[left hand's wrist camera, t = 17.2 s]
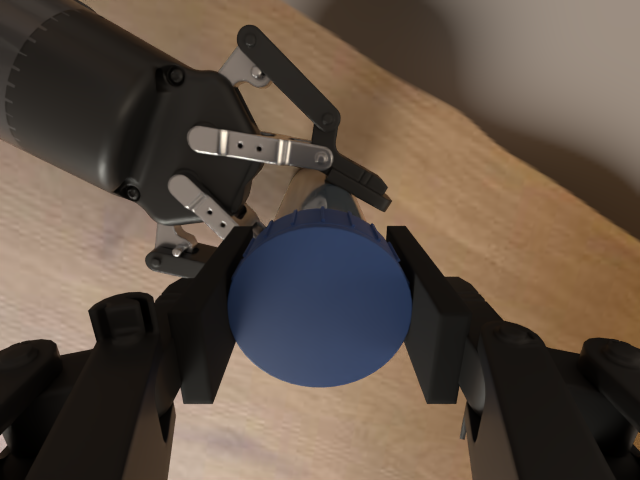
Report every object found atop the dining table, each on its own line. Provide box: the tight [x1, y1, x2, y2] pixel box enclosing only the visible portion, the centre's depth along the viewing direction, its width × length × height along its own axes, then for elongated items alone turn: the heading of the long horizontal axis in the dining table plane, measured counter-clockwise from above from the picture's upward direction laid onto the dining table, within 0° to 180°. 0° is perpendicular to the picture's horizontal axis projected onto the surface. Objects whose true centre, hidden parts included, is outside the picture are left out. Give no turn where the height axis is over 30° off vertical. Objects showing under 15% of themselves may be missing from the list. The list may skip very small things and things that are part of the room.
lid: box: [227, 206, 412, 387], centre depth 11 cm, size 6×6×2 cm
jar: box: [273, 168, 366, 222], centre depth 18 cm, size 5×5×15 cm
